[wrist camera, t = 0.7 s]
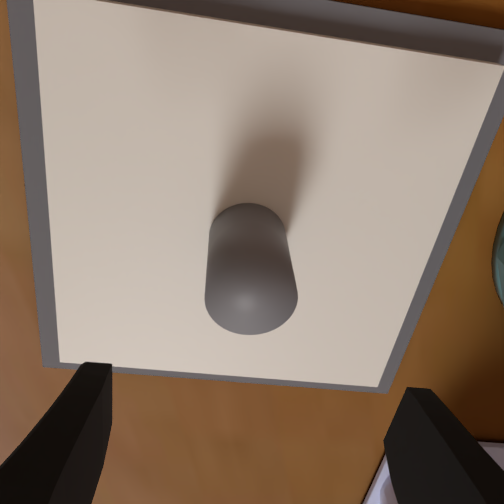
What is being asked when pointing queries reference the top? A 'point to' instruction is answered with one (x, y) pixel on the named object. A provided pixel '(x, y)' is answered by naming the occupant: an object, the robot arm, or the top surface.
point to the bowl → (499, 261)
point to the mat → (281, 16)
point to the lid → (243, 188)
